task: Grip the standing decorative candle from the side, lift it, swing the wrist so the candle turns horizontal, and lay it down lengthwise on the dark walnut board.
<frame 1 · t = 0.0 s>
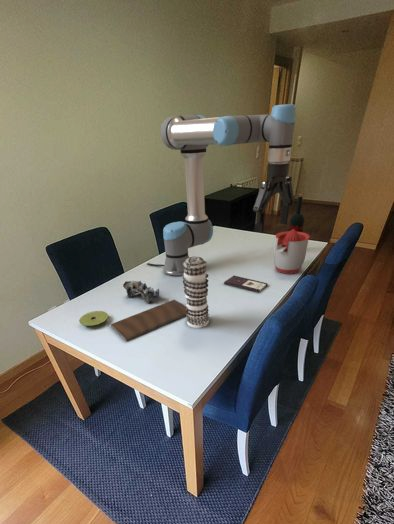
hand: (272, 227, 113), 28 cm above the table, tool pointing down, fingers open, 13 cm apart
citrus juicer: (286, 270, 149), on the table
mat: (95, 322, 118), on the table
walnut board: (152, 319, 117), on the table
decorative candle: (197, 322, 114), on the table
chocolate bar: (245, 284, 138), on the table
wine bottle: (291, 252, 170), on the table
foil: (143, 298, 133), on the table
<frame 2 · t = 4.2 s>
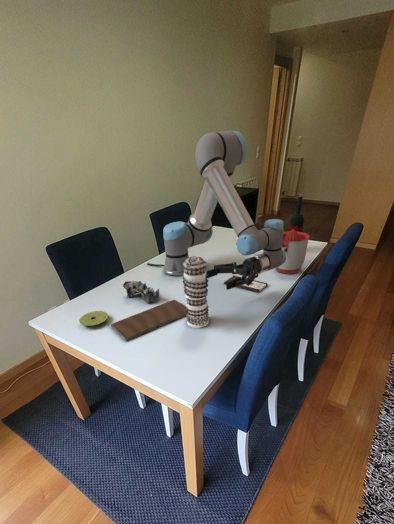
hand: (214, 280, 110), 14 cm above the table, tool horizontal, fingers open, 13 cm apart
nothing on the table moved.
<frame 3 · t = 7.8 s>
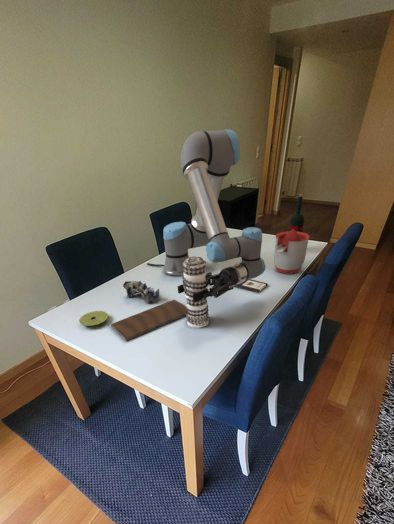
hand: (185, 294, 104), 14 cm above the table, tool horizontal, fingers closed on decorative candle, 8 cm apart
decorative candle: (198, 322, 114), on the table, touching gripper
everything else where it was.
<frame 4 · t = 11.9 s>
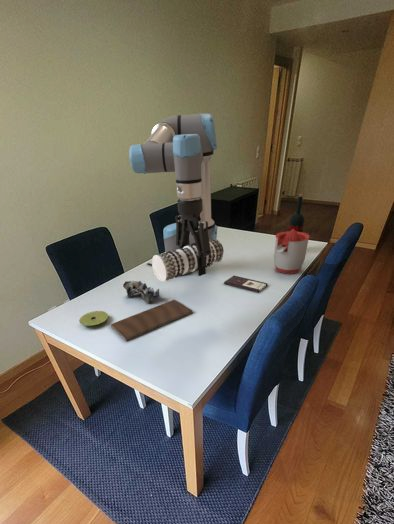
hand: (193, 270, 101), 21 cm above the table, tool pointing down, fingers closed on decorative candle, 8 cm apart
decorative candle: (158, 268, 92), point 26 cm above the table, touching gripper
everything else where it was.
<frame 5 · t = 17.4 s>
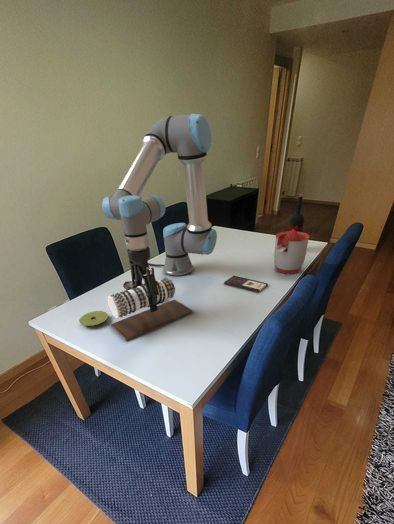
hand: (148, 306, 113), 6 cm above the table, tool pointing down, fingers closed on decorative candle, 8 cm apart
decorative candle: (112, 307, 103), point 11 cm above the table, touching gripper
everything else where it was.
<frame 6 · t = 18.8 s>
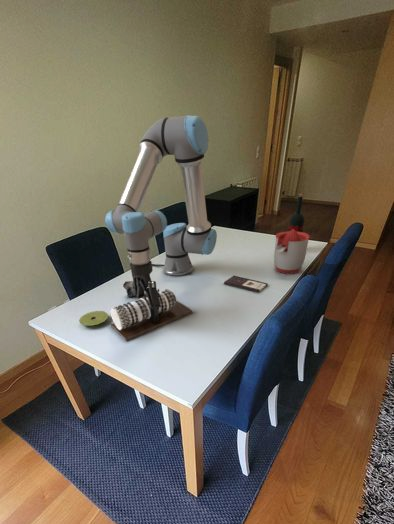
hand: (150, 317, 115), 1 cm above the table, tool pointing down, fingers closed on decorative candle, 8 cm apart
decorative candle: (115, 319, 106), point 6 cm above the table, touching gripper
everything else where it was.
when the fingers open (2 cm above the table, at t = 27.2 s): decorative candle drops 1 cm, resting on walnut board.
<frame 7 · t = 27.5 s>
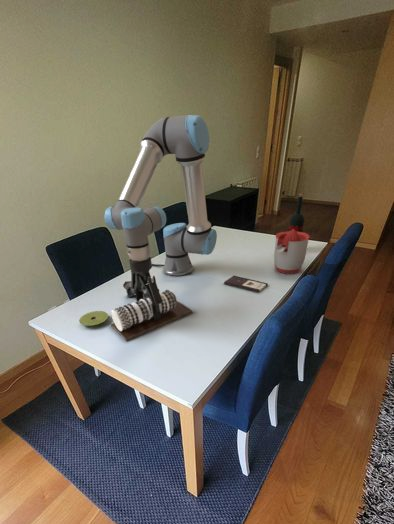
hand: (149, 312, 114), 4 cm above the table, tool pointing down, fingers open, 12 cm apart
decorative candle: (116, 320, 107), point 5 cm above the table, touching walnut board
everything else where it was.
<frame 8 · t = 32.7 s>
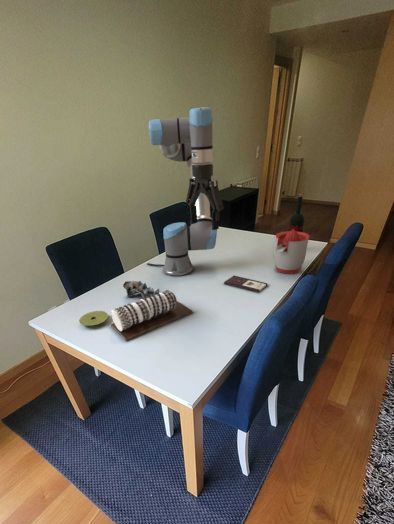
hand: (204, 226, 117), 29 cm above the table, tool pointing down, fingers open, 13 cm apart
nothing on the table moved.
at the end: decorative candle tilted 89°; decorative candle touching walnut board; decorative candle inside the target area on the walnut board (14.7 cm from its centre), point 5.5 cm above the walnut board's base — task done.
